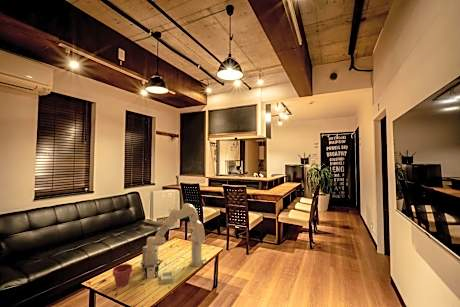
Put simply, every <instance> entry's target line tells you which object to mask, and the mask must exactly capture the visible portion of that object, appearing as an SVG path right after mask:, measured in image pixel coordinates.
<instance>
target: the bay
mask: <svg viewBox="0 0 460 307" xmlns="http://www.w3.org/2000/svg"><path fill="white" fill-rule="evenodd" d="M156 267H157V266H156V265H155V278H158V276H159V271H160V270H159V267H160V265H159V266H158V270H157V271H156ZM147 268H148V267H146V273H145V272H143V273H144V274H143V276H142V279H143V280H145V279H146V278H147V277H146V276H147Z"/></svg>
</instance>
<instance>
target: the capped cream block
mask: <svg viewBox="0 0 460 307" xmlns="http://www.w3.org/2000/svg"><path fill="white" fill-rule="evenodd" d="M155 266H156V265H149V266H148V268H147V273H146V276H147V277H146V278H149V279H150V278H154V277H155V276H156V272H155Z"/></svg>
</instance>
